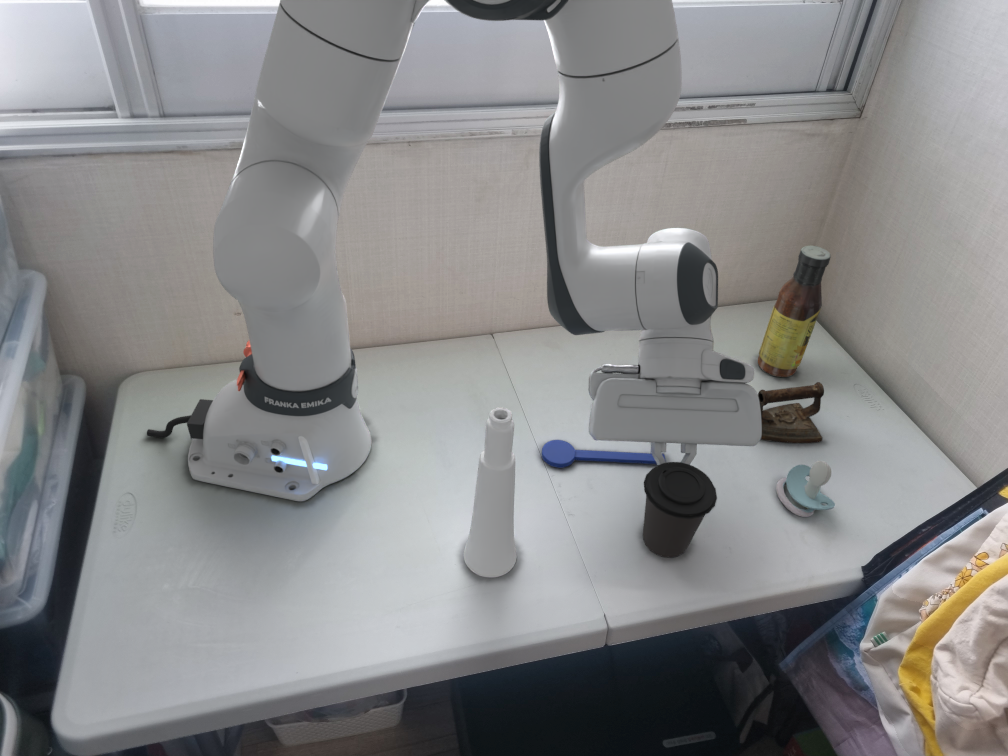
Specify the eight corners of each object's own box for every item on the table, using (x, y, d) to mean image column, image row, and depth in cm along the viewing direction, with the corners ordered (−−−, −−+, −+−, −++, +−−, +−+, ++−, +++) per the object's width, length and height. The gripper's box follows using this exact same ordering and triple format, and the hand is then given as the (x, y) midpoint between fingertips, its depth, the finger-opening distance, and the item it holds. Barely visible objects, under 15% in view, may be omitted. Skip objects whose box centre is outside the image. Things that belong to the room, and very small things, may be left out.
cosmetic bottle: (502, 586, 84) (516, 445, 70) (454, 565, 86) (458, 423, 72) (524, 547, 89) (542, 406, 75) (478, 527, 90) (486, 386, 76)
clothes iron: (825, 443, 106) (837, 397, 98) (746, 463, 106) (752, 419, 98) (803, 406, 110) (812, 359, 103) (727, 425, 110) (731, 380, 103)
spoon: (661, 449, 102) (663, 444, 102) (666, 473, 99) (668, 469, 99) (541, 442, 102) (541, 438, 101) (541, 467, 99) (542, 462, 98)
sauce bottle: (799, 382, 115) (845, 269, 102) (757, 376, 116) (797, 262, 103) (793, 356, 120) (836, 244, 107) (753, 350, 121) (791, 238, 108)
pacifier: (790, 524, 94) (836, 519, 95) (804, 490, 90) (852, 485, 91) (766, 479, 99) (809, 475, 100) (778, 445, 95) (823, 441, 96)
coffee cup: (634, 505, 94) (648, 449, 88) (701, 519, 93) (720, 463, 87) (627, 558, 88) (641, 502, 82) (698, 574, 87) (718, 518, 81)
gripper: (593, 360, 89) (589, 480, 88) (767, 367, 89) (766, 487, 88) (585, 365, 95) (582, 477, 94) (748, 372, 96) (747, 483, 95)
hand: (672, 482), depth 91 cm, fingers closed, pressing on coffee cup
